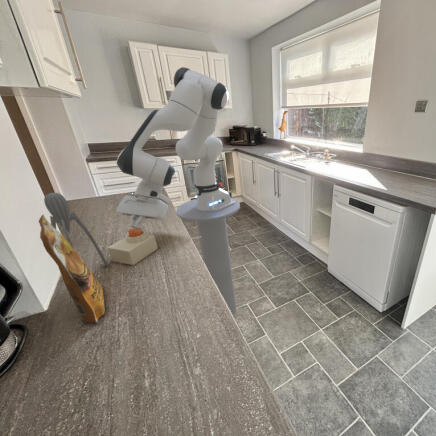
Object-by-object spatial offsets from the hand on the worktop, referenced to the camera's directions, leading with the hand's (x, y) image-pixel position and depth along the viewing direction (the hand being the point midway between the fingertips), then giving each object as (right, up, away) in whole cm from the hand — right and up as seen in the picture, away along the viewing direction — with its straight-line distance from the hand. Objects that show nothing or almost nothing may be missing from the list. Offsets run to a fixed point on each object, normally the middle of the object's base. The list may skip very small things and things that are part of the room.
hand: (134, 227), depth 92 cm
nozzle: (0, -3, +1) cm, 3 cm away
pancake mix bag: (+2, -23, -22) cm, 32 cm away
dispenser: (-1, -11, +2) cm, 11 cm away
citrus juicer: (-9, -17, -11) cm, 22 cm away
